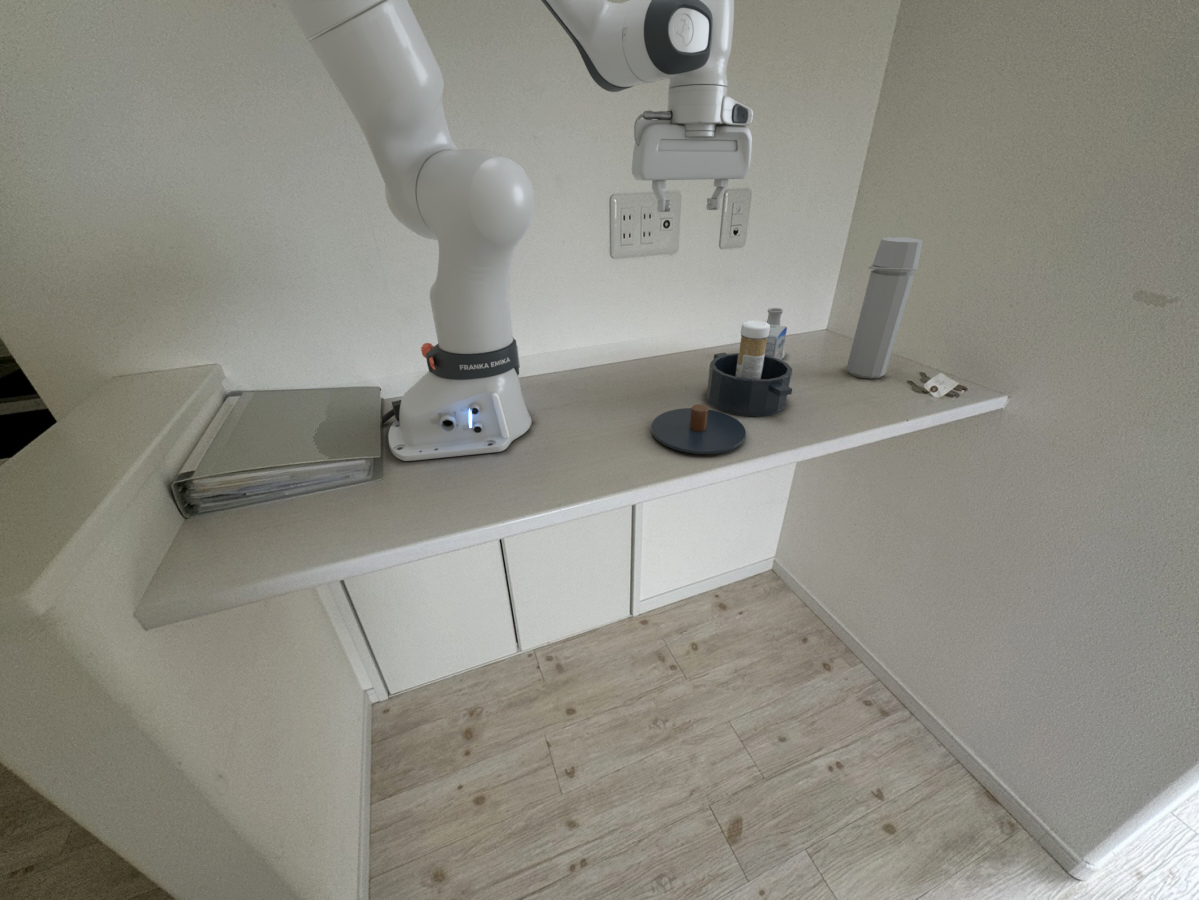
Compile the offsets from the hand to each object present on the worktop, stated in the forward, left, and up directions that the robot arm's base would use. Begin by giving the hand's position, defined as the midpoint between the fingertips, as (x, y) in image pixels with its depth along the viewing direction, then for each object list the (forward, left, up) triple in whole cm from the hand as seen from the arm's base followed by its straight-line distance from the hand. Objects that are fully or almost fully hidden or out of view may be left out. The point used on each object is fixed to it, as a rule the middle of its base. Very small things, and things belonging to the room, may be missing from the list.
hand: (688, 210), depth 84 cm
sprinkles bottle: (+6, -14, -30) cm, 34 cm away
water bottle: (+36, -12, -30) cm, 49 cm away
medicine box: (+18, -4, -30) cm, 36 cm away
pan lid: (-8, -22, -30) cm, 38 cm away
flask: (+25, +4, -30) cm, 40 cm away
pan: (+6, -14, -30) cm, 34 cm away
